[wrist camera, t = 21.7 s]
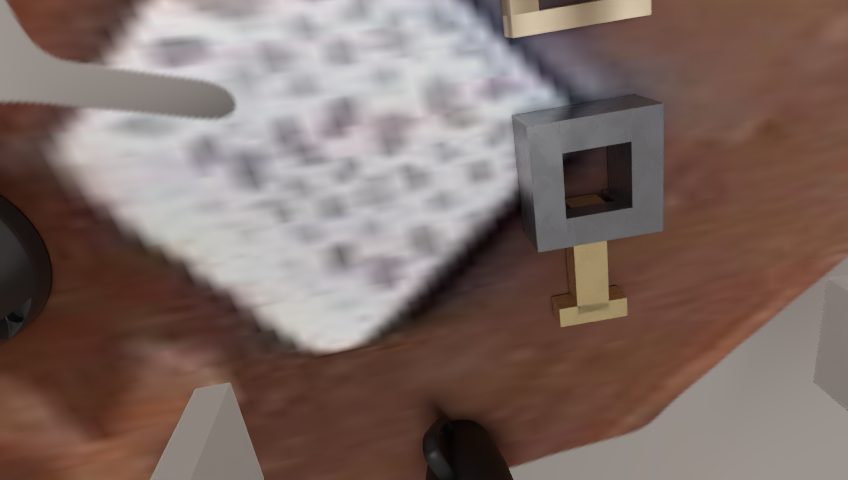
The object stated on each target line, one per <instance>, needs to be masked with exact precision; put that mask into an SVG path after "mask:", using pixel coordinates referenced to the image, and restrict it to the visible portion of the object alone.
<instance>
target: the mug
mask: <svg viewBox="0 0 848 480" xmlns="http://www.w3.org/2000/svg"><path fill="white" fill-rule="evenodd" d="M423 452H424V456H425V459H426V461H427V463H428V466H427V473H426V480H513V478H512V475H511V473H510V471H509V468H508V466H507V464H506V462H505V460H504V458H503V456H502V455H501V453H500V451H499V450H498V448H497V447H496V446H495V444H494V443H493V441H492V440H491V439H490V438H489V436H488V435H487V433H486V431H485V430H484V429H483V428H482V427H481V426H480V425H479V424H477V423H475V422H472V421H468V420H458V421H453V422H450V421H449V420H448V419H446V418H442V419H439V420H437V421H436V422H434V423H433V425H432V426H431V427H430V428H429V429H428V431H427V432H426V433H425V435H424V438H423Z"/></svg>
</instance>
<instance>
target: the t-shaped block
mask: <svg viewBox="0 0 848 480" xmlns="http://www.w3.org/2000/svg"><path fill="white" fill-rule="evenodd" d="M600 203H605V201H603V200H602V199H601V198H600V197H599V196H597V195H596V194H590V195H584V196H578V197H572V198H566V199H565V207H566V209H571V208H577V207H583V206H589V205H594V204H600ZM566 256H567V272H568V287H569V294H565V295H559V296H553V297H552V306H553V315H554V316H555V318H556V320H557V321H558V323H559V325H560V327H564V326H570V325H576V324H582V323H587V322H593V321H599V320H605V319H610V318H616V317H622V316H627V297H626V296H625V295H624V294H623V293H622V292H621V290H620V289H619V288H618V287H617V286H611V287H608V261H607V241H602V242H596V243H590V244H585V245H579V246H573V247H567V248H566Z"/></svg>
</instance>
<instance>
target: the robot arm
mask: <svg viewBox="0 0 848 480" xmlns="http://www.w3.org/2000/svg"><path fill="white" fill-rule="evenodd" d="M50 287H51V268H50V262H49V258H48V255H47V252H46V249H45V247H44V245H43V243H42V241H41V239H40V237H39V235H38V234H37V232H36V231H35V229H34V228H33V226H32V225H31V224H30V222H29V221H28V220H27V219H26V218H25V217H24V215H23V214H22V213H21V212H20V211H19V210H18V209H16V208H15V207H14V206H13V205H12V204H11V203H9V202H8V201H7V200H6V199H4V198H3V197H1V196H0V345H1V344H3V343H5V342H6V341H8V340H10V339H11V338H13V337H14V336H16V335H17V334H18V333H19V332H20V331H22V330H23V329H24V328H25V327H26V326H27V325H29V324H30V323H31V322H32V321H33V320H34V319H35V318H36V317H37V316H38V315H39V313H40V312H41V310H42V309H43V307H44V305H45V303H46V301H47V299H48V296H49V292H50ZM814 382H815V384H817V385H818V386H819V387H820V388H822V390H824V391H825V392H826V393H827V394H828V395H830V396H831V397H832V398H833V399H834V400H836V401H837V402H838V403H839V404H840V405H841V406H842V407H844V408H845V409H846V410H847V411H848V275H842V276H836V277H831V278H827V281H826V289H825V297H824V304H823V312H822V320H821V328H820V335H819V343H818V351H817V358H816V366H815V374H814ZM150 480H264V477H263V474H262V472H261V469H260V466H259V463H258V460H257V457H256V454H255V452H254V449H253V446H252V443H251V440H250V437H249V434H248V432H247V429H246V426H245V423H244V420H243V417H242V414H241V412H240V409H239V406H238V403H237V400H236V397H235V394H234V392H233V389H232V386H231V383H224V384H219V385H213V386H207V387H201V388H196V389H195V390H194V392H193V394H192V396H191V398H190V400H189V402H188V404H187V406H186V408H185V410H184V412H183V414H182V416H181V418H180V420H179V422H178V424H177V426H176V428H175V430H174V432H173V434H172V436H171V438H170V440H169V442H168V444H167V446H166V448H165V450H164V452H163V454H162V456H161V458H160V460H159V462H158V464H157V466H156V468H155V470H154V472H153V474H152V477H151V479H150Z"/></svg>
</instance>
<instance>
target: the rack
mask: <svg viewBox="0 0 848 480" xmlns="http://www.w3.org/2000/svg"><path fill="white" fill-rule="evenodd" d="M501 5H502V15H503V26H504V36H505V37H509V38H517V37H523V36H529V35H534V34H540V33H546V32H552V31H558V30H564V29H570V28H576V27H581V26H587V25H593V24H599V23H605V22H611V21H617V20H622V19H628V18H634V17H640V16H646V15H651V0H592V1H586V2H580V3H574V4H568V5H562V6H556V7H551V8H545V9H539V3H538V0H501Z"/></svg>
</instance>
